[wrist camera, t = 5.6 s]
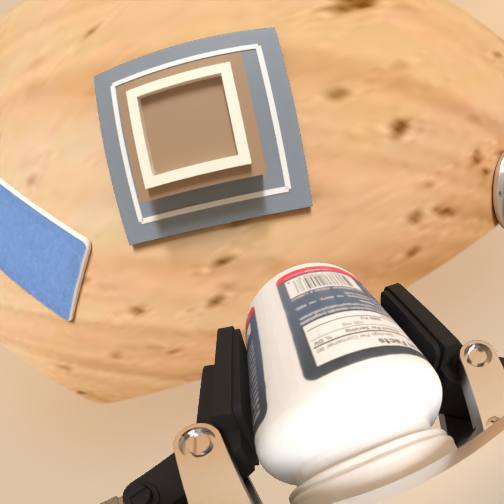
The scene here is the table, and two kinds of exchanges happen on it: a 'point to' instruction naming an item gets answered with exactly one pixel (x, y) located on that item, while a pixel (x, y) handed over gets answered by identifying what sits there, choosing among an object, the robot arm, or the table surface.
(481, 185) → the table surface
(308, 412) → the pill bottle
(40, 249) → the blue rectangular panel
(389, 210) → the table surface
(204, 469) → the robot arm
